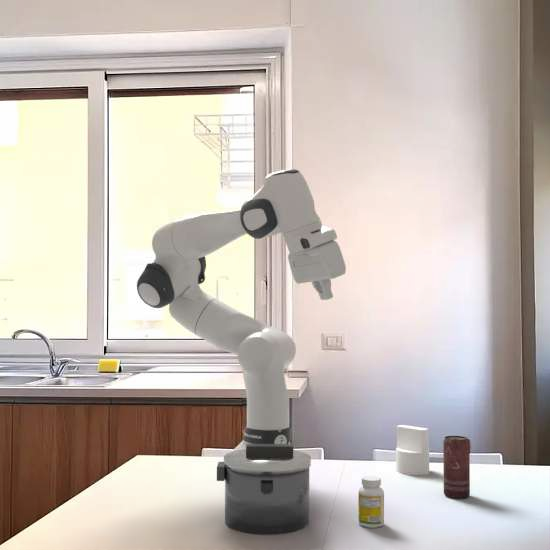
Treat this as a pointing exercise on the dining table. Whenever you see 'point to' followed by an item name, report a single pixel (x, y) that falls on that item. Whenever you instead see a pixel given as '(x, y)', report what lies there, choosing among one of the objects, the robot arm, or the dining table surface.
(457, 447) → the can
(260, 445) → the cooker lid
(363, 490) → the supplement bottle
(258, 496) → the cooker pot
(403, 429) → the white stacked block
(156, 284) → the robot arm
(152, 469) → the dining table surface
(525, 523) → the dining table surface
